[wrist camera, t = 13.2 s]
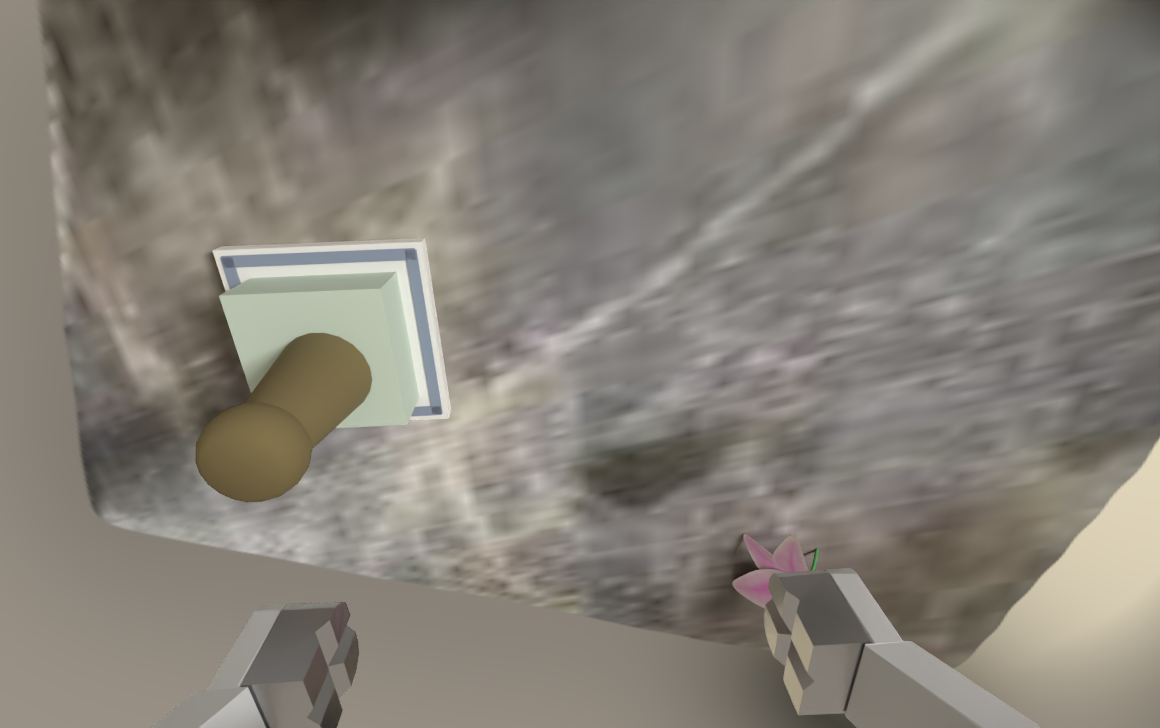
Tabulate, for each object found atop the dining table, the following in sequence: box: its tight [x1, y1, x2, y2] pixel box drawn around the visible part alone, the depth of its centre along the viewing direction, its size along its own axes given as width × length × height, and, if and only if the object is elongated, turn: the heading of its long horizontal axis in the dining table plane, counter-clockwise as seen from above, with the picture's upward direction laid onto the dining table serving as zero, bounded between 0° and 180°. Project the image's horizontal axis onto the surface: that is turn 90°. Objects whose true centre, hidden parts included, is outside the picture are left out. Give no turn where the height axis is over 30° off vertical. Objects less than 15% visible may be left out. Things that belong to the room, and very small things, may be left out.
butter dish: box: [212, 238, 451, 428], centre depth 38 cm, size 14×14×5 cm
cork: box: [196, 333, 372, 502], centre depth 31 cm, size 6×6×11 cm
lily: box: [733, 534, 818, 608], centre depth 49 cm, size 12×12×10 cm
